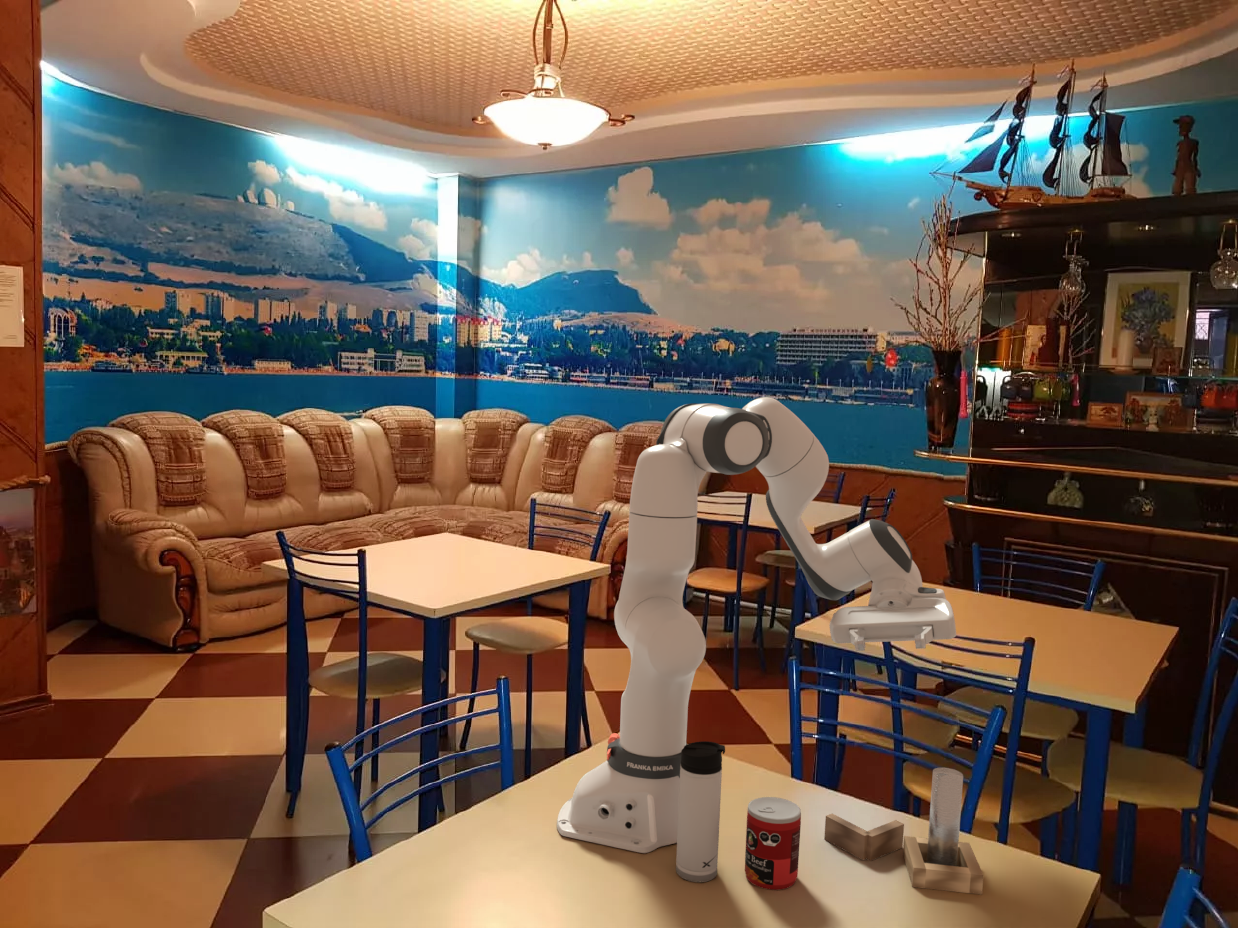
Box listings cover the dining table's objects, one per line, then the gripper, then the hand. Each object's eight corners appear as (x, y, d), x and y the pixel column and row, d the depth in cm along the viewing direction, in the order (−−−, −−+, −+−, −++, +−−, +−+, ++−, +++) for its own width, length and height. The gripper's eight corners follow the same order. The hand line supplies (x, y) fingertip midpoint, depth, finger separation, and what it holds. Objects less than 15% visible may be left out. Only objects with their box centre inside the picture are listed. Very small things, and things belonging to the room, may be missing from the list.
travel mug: (717, 885, 139) (723, 755, 137) (673, 879, 140) (678, 750, 138) (721, 864, 145) (727, 739, 143) (678, 859, 146) (684, 734, 145)
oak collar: (912, 886, 141) (913, 867, 140) (902, 853, 151) (904, 835, 150) (982, 894, 139) (983, 875, 139) (967, 860, 149) (969, 842, 149)
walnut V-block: (826, 855, 149) (827, 831, 149) (823, 835, 156) (825, 812, 155) (907, 864, 147) (909, 840, 147) (901, 844, 154) (903, 820, 153)
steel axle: (928, 879, 143) (935, 777, 142) (923, 864, 147) (930, 766, 146) (958, 882, 142) (965, 780, 141) (952, 867, 147) (960, 768, 145)
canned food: (734, 869, 144) (738, 800, 143) (779, 860, 147) (782, 792, 146) (761, 895, 137) (765, 822, 136) (807, 885, 140) (811, 814, 139)
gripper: (831, 595, 166) (821, 630, 154) (953, 588, 159) (953, 624, 146) (836, 627, 168) (827, 665, 155) (957, 622, 160) (957, 661, 148)
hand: (889, 645), depth 151 cm, fingers open, 8 cm apart
